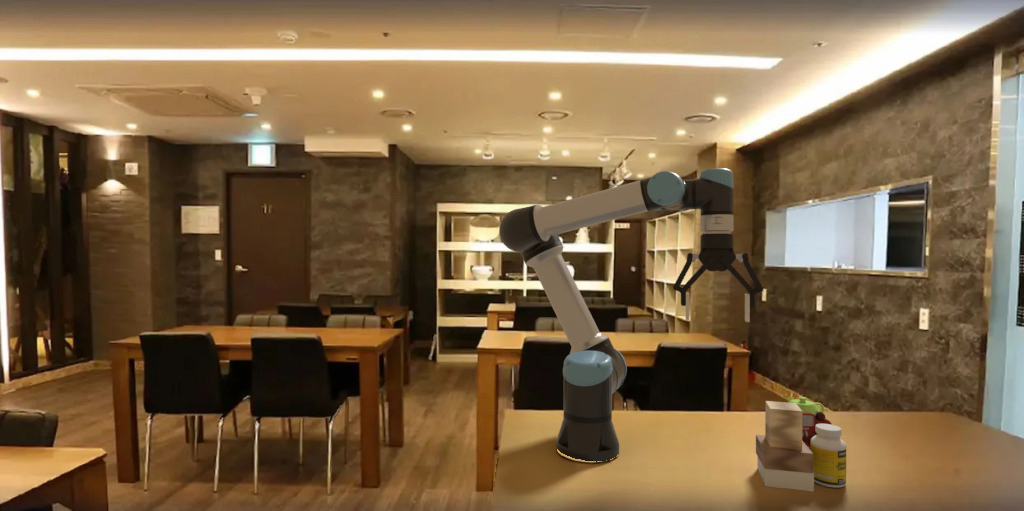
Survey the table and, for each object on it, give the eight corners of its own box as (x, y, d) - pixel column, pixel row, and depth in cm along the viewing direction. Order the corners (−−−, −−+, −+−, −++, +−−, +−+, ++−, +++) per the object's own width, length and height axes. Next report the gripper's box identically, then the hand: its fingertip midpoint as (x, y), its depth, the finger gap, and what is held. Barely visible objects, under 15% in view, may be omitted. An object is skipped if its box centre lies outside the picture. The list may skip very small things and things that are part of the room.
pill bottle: (834, 491, 106) (834, 434, 105) (803, 479, 111) (803, 424, 111) (853, 485, 109) (853, 429, 108) (822, 473, 114) (822, 420, 114)
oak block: (770, 446, 109) (770, 408, 109) (765, 437, 115) (765, 400, 115) (802, 450, 108) (802, 411, 108) (795, 440, 113) (795, 403, 113)
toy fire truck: (845, 462, 120) (846, 417, 120) (790, 461, 121) (790, 416, 121) (829, 451, 127) (829, 408, 127) (777, 450, 128) (777, 407, 128)
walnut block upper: (764, 468, 108) (764, 449, 108) (755, 452, 117) (755, 434, 117) (813, 473, 106) (813, 453, 106) (800, 456, 114) (800, 438, 114)
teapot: (832, 428, 143) (832, 397, 143) (819, 438, 136) (819, 406, 135) (788, 419, 152) (788, 390, 151) (773, 428, 144) (773, 397, 144)
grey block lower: (765, 487, 108) (765, 468, 108) (757, 470, 117) (757, 452, 117) (813, 493, 106) (813, 473, 106) (802, 475, 114) (802, 456, 114)
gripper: (663, 233, 127) (663, 320, 128) (776, 231, 120) (776, 324, 120) (663, 234, 135) (663, 316, 135) (770, 233, 127) (770, 320, 127)
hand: (716, 320), depth 127 cm, fingers open, 13 cm apart
